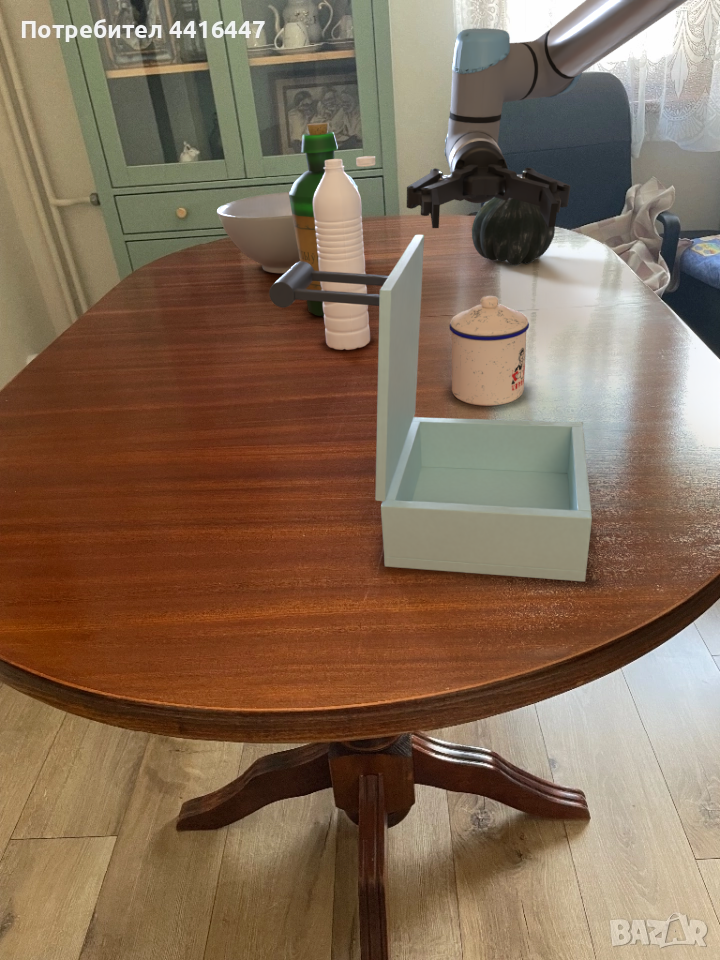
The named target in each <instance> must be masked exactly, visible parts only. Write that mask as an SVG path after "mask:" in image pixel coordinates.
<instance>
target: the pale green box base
mask: <svg viewBox="0 0 720 960" xmlns="http://www.w3.org/2000/svg"><path fill="white" fill-rule="evenodd" d="M589 483H590V482H589V474H588V464H587V453H586V444H585V432H584V423H583V422H582V421H557V420H555V421H551V420H520V419H519V420H518V419H485V418H483V419H482V418H454V417H453V418H452V417H451V418H450V417H449V418H448V417H419V416H414V418H413V421H412V424H411V427H410V430H409V432H408V435H407V438H406V441H405V444H404V447H403V450H402V453H401V456H400V459H399V462H398V465H397V468H396V471H395V474H394V477H393V480H392V483H391V485H390V488H389V491H388V494H387V497H386V500H385V501H381V505H380V516H381V530H382V531H381V532H382V546H383V547H382V549H383V561H384V562H383V563H384V567H386V568H401V569H411V570H412V569H413V570H427V571H439V572H453V573H466V574H478V575H479V574H480V575H491V576H492V575H493V576H503V577H504V576H505V577H517V578H518V577H519V578H532V579H543V580H544V579H546V580H559V581H572V582H584V583H585V582H586V577H587V568H588V558H589V548H590V541H591V532H592V524H593V523H592V522H593V514H592V503H591V495H590V484H589Z"/></svg>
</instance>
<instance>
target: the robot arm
mask: <svg viewBox="0 0 720 960" xmlns="http://www.w3.org/2000/svg"><path fill="white" fill-rule="evenodd" d="M687 1H688V0H584V1H583V2H582V3H581V4H580V5H578V6H577V7H576V8H574V9H573V10H571V12H569V13H568V14H567V15H565V16H564V17H563V18H562V19H560V21H558V22H557V23H555V24H554V26H553V27H551V28H549V29H548V30H547V31H546V32H545V33H543V34H542V35H541V36H539V37H538V38H537V39H535V40H531V41H522V42H510V40H511V37H510V33H509V32H508V31H507V30H504V29H501V28H499V29H498V28H487V27H486V28H467V29H463V30H462V31H460V32H459V33H458V34H457V36H456V39H455V40H456V41H455V46H454V51H453V59H452V64H451V69H452V71H451V73H452V74H451V75H452V76H451V77H452V78H451V92H450V93H451V94H450V108H449V109H450V110H449V116H448V125H447V126H448V127H447V135H446V137H445V139H444V147H445V148H444V156H445V158H446V162H447V164H448V169H449V171H450V174H444V172H443V171H441V170H440V169H439V168H436V167H434V168H432V169H430V172H429V173H427V174H426V175H425V176H423V177H420V178H419V179H418V180H416V181H414V182H412V183H411V184H409V185H407V186H406V208H407V209H410V210H411V209H412V210H413V209H415V208H417V207H419V206H420V216H422V217H428V216H430V221H431V227H432V229H439V228H440V209H441V205H445V204H447V203H449V202H451V201H459V202H462V201H466V202H468V203H472V204H483V203H486V202H487V201H489V200H491V199H493V198H499V199H502V200H510V199H516V200H520V201H523V202H526V203H530V204H533V205H537V206H540V212H541V214H542V216H543V218H544V220H545V222H546V224H547V226H548V227H556V222H557V221H556V219H557V214H559V213H560V211H561V208H567V207H568V205H569V198H570V192H571V185H570V184H568V183H565V182H562V181H560V180H558V179H555V178H553V177H550V176H548V175H545V174H542V173H540V172H538V171H536V170H535V169H534V168H532V167H525V168H524V169H523V170H522V174H518V173H517V172H516V171H514V170H511V169H509V168H508V164H507V161H506V159H505V156H504V154H503V152H502V150H501V148H500V147H499V135H500V126H501V120H502V112H503V104H505V103H510V102H517V101H525V100H533V99H541V98H542V99H543V98H554V97H556V96H560V95H563V94H566V93H569V92H570V91H571V90H573V89H574V88H575V87H576V86H577V84H578V82H579V80H580V79H581V77H582V75H583V73H584V72H585V71H586V70H588V69H589V68H591V67H592V66H594V65H595V64H597V63H599V62H600V61H601V60H603V59H604V58H606V57H607V56H609V55H610V54H612V53H613V52H614V51H616V50H618V49H619V48H620V47H621V46H623V45H624V44H626V43H628V42H629V41H630V40H632V39H633V38H635V37H637V36H638V35H639V34H641V33H642V32H644V31H645V30H647V29H648V28H649V27H651V26H652V25H653V24H656V23H657V22H658V21H660V20H661V19H662V18H664V17H666V16H667V15H668V14H671V12H673V11H675V10H676V9H678V7H680V6H681V5H683V4H685V3H686V2H687ZM503 191H505V193H504V192H503Z"/></svg>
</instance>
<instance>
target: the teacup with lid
mask: <svg viewBox="0 0 720 960" xmlns="http://www.w3.org/2000/svg"><path fill="white" fill-rule="evenodd" d="M529 328H530V322H529V319H528V317H527V316H526V315H525V314H524V313H523V312H521V311H519V310H517V309H512V308H509V307H507V306H505V305H503V304H500V303H499V298H498V297H497V296H494V295H485V296H483V297H482V298H481V299H480V304H477V305H474V306H472V307H471V308H470V309H466V310H463V311H459V312H458V313H457V314H456V315H454V316H453V317H452V318H451V320H450V324H449V331H450V332H451V392H452V394H453V396H454V397H455V398H457V399H458V400H459V401H461V402H464V403H466V404H469V405H476V406H487V407H489V406H490V407H491V406H501V405H506V404H509V403H512V402H515V401H516V400H517V399H519V398H520V397H521V396H522V395H523V393H524V390H525V377H526V375H525V374H526V373H525V372H526V355H527V354H526V353H527V335H528V334H527V331H528V330H529Z"/></svg>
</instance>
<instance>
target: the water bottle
mask: <svg viewBox="0 0 720 960" xmlns="http://www.w3.org/2000/svg"><path fill="white" fill-rule="evenodd" d="M355 162H356V163H355V165H356V167H359V168H361V167H362V168H363V167H372V166H375V165H376V156H375V155H364V156H358V157H356V158H355ZM343 164H344V163H343V159H342V158H334V159H330V160H325V167H324V169H325V173H324V175H323V177H322V179H321V181H320V183H319V185H318V187H317V189H316V192H315V194H314V197H313V212H314V218H315V225H316V226H315V230H316V237H317V249H318V256H319V257H318V261H319V271H326V272H341V273H356V274H367V273H366V259H365V258H366V257H365V253H364V252H365V247H364V243H365V242H364V234H363V233H364V231H363V222H362V221H363V217H362V216H363V215H362V199H361V195H360V192H359V189H358V190H357V189H356V187H355V186H354V184H353V183H352V182H351V180H350V179H349V177H348V176H347V175H348V174H347V173H346V171H345V170H344V168H345V165H343ZM346 174H347V175H346ZM320 283H321V287H322V290H324V291H338V292H352V293H366V294H368V288H367V285H363V284H349V283H335V282H320ZM368 309H369V305H361V304H347V303H334V302H323V312H324V317H323V323H324V327H325V329H324V335H325V343H326V345H327V347H328V348H330V349H333V350H337V351H343V350H346V351H350V350H351V351H352V350H357V349H361V348H363V347H366V346H367V345H368V344H369V343H370V342H371V331H370V329H371V328H370V325H369V321H370V316H369V311H368Z"/></svg>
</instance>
